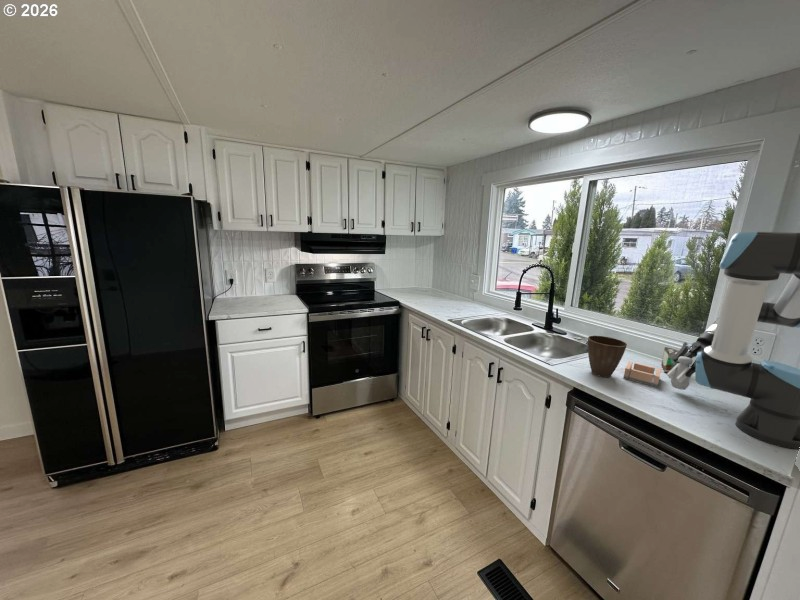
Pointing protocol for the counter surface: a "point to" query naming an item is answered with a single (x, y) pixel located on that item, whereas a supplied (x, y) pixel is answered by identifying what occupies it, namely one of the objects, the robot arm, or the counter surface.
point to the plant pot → (604, 354)
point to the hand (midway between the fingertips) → (673, 378)
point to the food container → (668, 359)
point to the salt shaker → (682, 365)
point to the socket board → (642, 374)
